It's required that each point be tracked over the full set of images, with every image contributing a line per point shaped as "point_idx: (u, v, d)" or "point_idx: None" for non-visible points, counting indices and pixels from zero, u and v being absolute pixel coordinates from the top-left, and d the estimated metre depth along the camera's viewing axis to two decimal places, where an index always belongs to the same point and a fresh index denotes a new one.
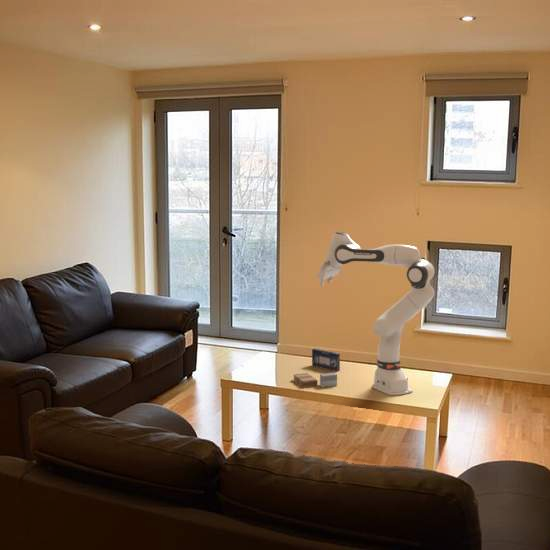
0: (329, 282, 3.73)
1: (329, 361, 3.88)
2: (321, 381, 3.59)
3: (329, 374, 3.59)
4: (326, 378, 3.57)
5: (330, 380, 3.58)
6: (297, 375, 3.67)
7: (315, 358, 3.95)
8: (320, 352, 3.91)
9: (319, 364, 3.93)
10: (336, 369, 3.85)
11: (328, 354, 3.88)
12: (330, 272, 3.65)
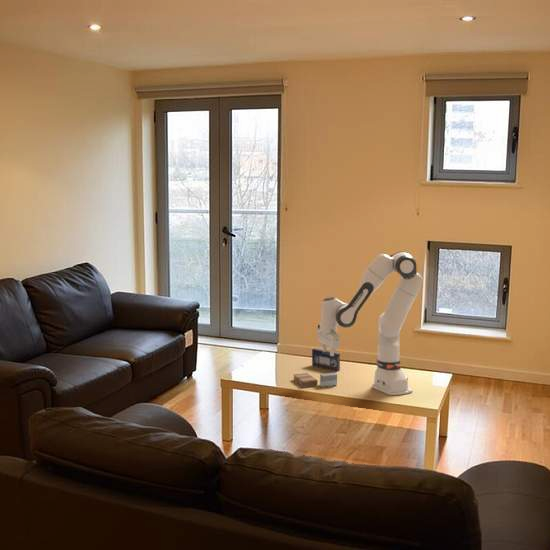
0: None
1: (329, 361, 3.88)
2: (321, 381, 3.59)
3: (329, 374, 3.59)
4: (326, 378, 3.57)
5: (330, 380, 3.58)
6: (297, 375, 3.67)
7: (315, 358, 3.95)
8: (320, 352, 3.91)
9: (319, 364, 3.93)
10: (336, 369, 3.85)
11: (328, 354, 3.88)
12: None
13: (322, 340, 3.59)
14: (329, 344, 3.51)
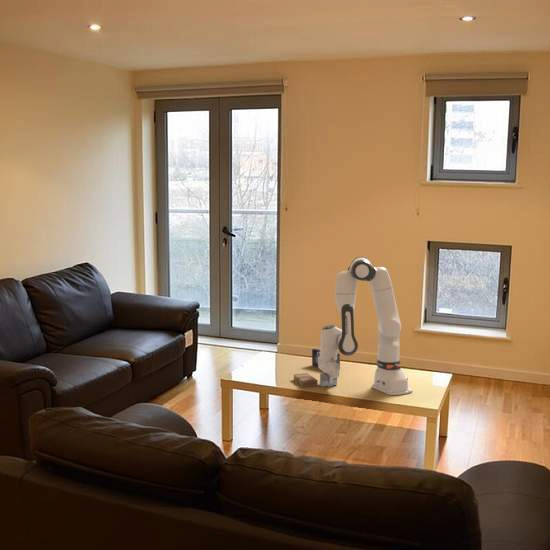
0: None
1: None
2: (321, 381, 3.59)
3: None
4: (326, 378, 3.57)
5: None
6: (297, 375, 3.67)
7: (315, 358, 3.95)
8: None
9: None
10: None
11: None
12: None
13: (322, 368, 3.62)
14: (329, 372, 3.54)
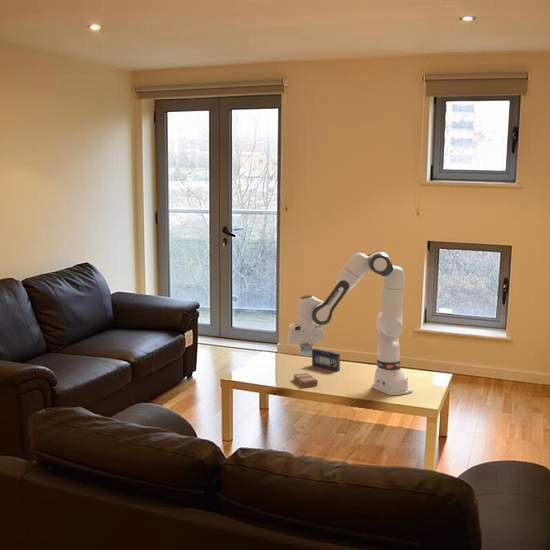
0: None
1: (329, 361, 3.88)
2: (308, 352, 3.58)
3: (305, 343, 3.62)
4: None
5: None
6: (297, 375, 3.67)
7: (315, 358, 3.95)
8: (320, 352, 3.91)
9: (319, 364, 3.93)
10: (336, 369, 3.85)
11: (328, 354, 3.88)
12: None
13: (300, 340, 3.58)
14: (316, 339, 3.61)
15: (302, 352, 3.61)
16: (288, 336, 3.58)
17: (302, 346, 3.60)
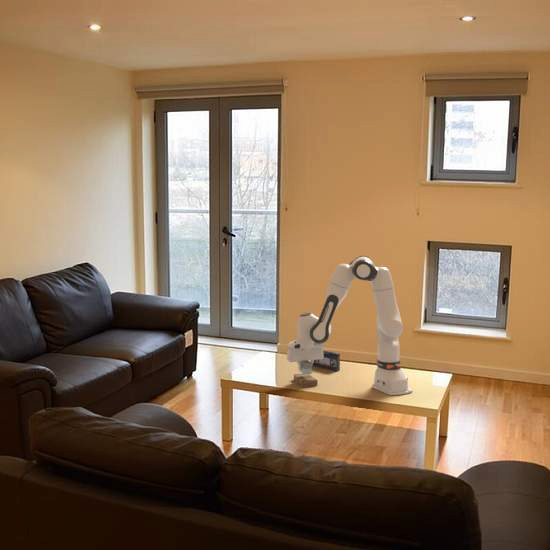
0: None
1: (329, 361, 3.88)
2: (307, 369, 3.59)
3: (305, 361, 3.63)
4: None
5: None
6: (297, 375, 3.67)
7: None
8: None
9: (319, 364, 3.93)
10: (336, 369, 3.85)
11: (328, 354, 3.88)
12: None
13: (300, 358, 3.59)
14: (315, 356, 3.62)
15: (302, 370, 3.62)
16: (288, 354, 3.59)
17: (302, 364, 3.62)
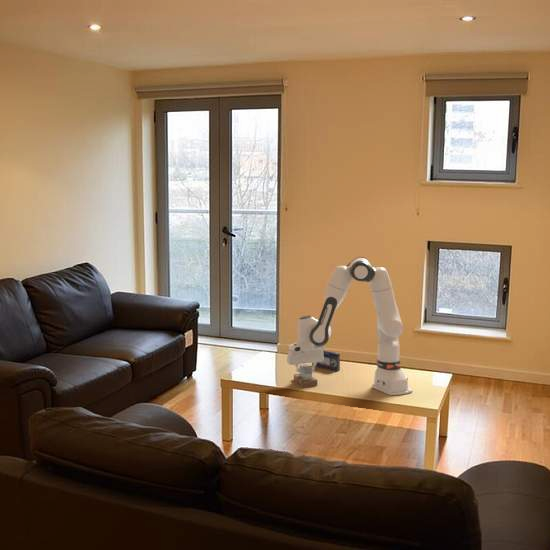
0: None
1: (329, 361, 3.88)
2: (308, 375, 3.60)
3: (305, 366, 3.64)
4: None
5: None
6: (297, 375, 3.67)
7: None
8: None
9: (319, 364, 3.93)
10: (336, 369, 3.85)
11: (328, 354, 3.88)
12: None
13: (300, 360, 3.60)
14: (315, 359, 3.63)
15: (302, 375, 3.63)
16: (288, 357, 3.59)
17: (302, 369, 3.62)
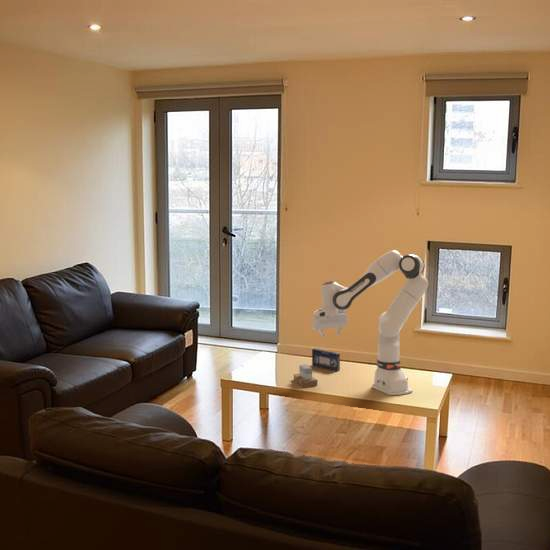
0: None
1: (329, 361, 3.88)
2: (308, 375, 3.60)
3: (305, 366, 3.64)
4: None
5: None
6: (297, 375, 3.67)
7: (315, 358, 3.95)
8: (320, 352, 3.91)
9: (319, 364, 3.93)
10: (336, 369, 3.85)
11: (328, 354, 3.88)
12: None
13: (325, 325, 3.65)
14: (340, 324, 3.68)
15: (302, 375, 3.63)
16: (313, 322, 3.64)
17: (302, 369, 3.62)
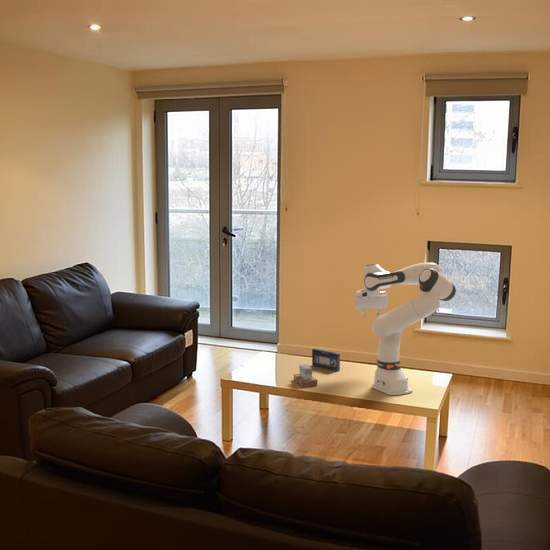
0: None
1: (329, 361, 3.88)
2: (308, 375, 3.60)
3: (305, 366, 3.64)
4: None
5: None
6: (297, 375, 3.67)
7: (315, 358, 3.95)
8: (320, 352, 3.91)
9: (319, 364, 3.93)
10: (336, 369, 3.85)
11: (328, 354, 3.88)
12: None
13: (367, 306, 3.80)
14: (380, 305, 3.83)
15: (302, 375, 3.63)
16: (355, 302, 3.79)
17: (302, 369, 3.62)
